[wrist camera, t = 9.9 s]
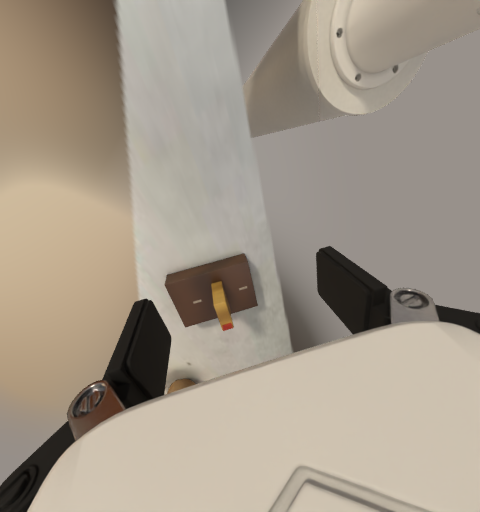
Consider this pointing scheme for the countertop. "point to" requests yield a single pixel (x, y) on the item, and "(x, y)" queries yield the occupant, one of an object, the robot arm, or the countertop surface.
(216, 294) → the thumbturn
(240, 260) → the plate
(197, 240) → the countertop surface
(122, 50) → the countertop surface
